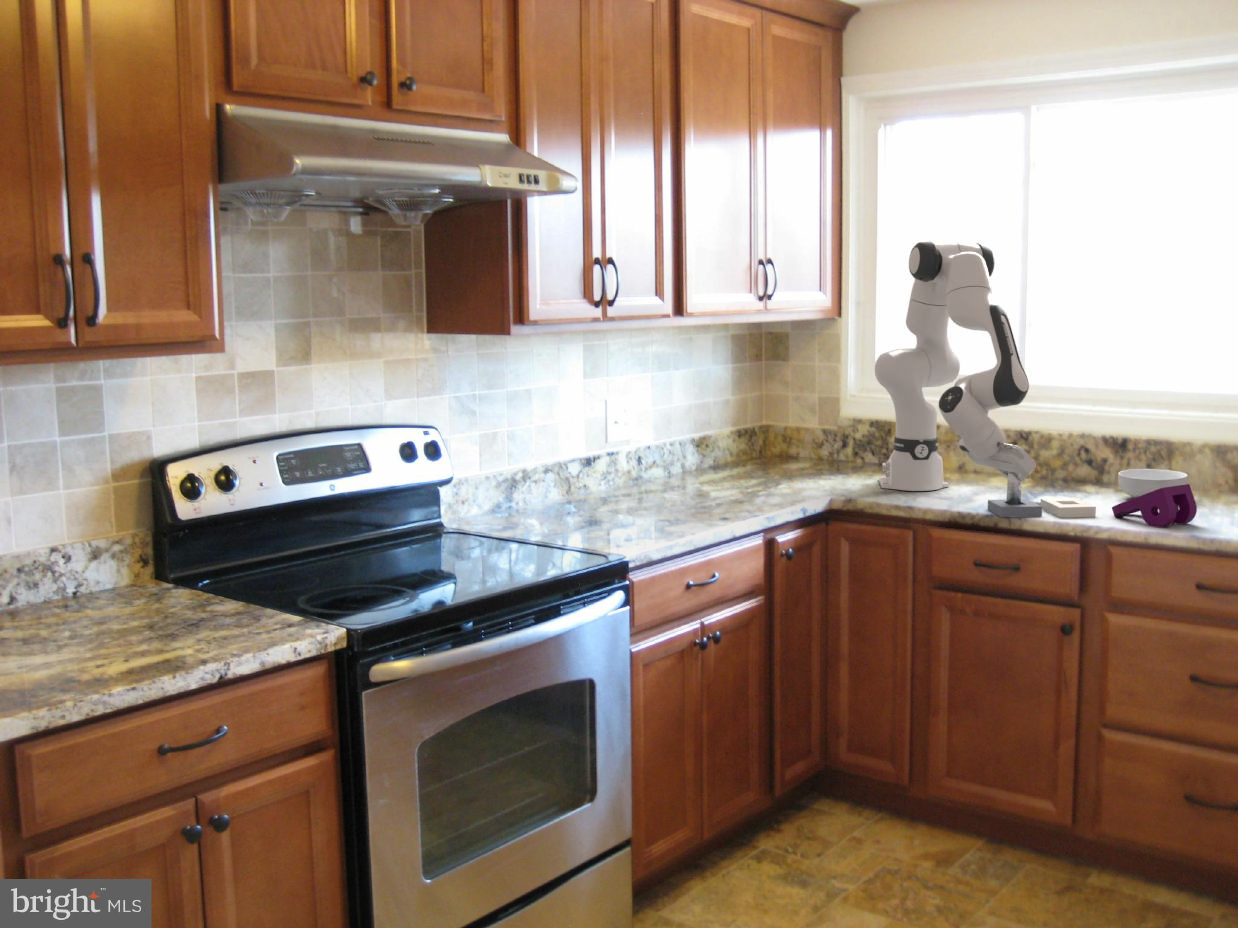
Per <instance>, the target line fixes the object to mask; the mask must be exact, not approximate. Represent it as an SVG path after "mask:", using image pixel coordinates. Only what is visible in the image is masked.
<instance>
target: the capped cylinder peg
mask: <svg viewBox="0 0 1238 928" xmlns="http://www.w3.org/2000/svg"><path fill="white" fill-rule="evenodd" d="M1015 476H1016V473H1014V472H1010V471H1008V477H1006V478H1007V483H1006V500H1007V501H1006V504H1008V505H1021V499H1022V485H1023V483H1022V482H1023V481H1020V480H1018V479H1017V478H1016V477H1015Z"/></svg>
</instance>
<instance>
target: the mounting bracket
mask: <svg viewBox="0 0 1238 928" xmlns="http://www.w3.org/2000/svg"><path fill="white" fill-rule="evenodd" d="M1194 496H1195V495H1194V494H1193V492H1192V488H1191V486H1190V484H1189V483H1187V484H1186V485H1179V486H1171V487H1164V488H1160V489H1157V490H1155V491H1152V492H1150V493H1147V494H1144V495H1142V496H1139V497H1136V498H1134V497H1133V498H1131V499H1129V500H1126V501H1123V502H1121V503H1119V504H1115V505H1113V506H1112V507H1111V510H1112V513H1113V516H1114V517H1119V515H1120V516H1126V515H1125V514H1127V515H1130V514H1134V513H1139V512H1140V513H1141V518H1142V519H1143V522H1145V524H1146V525H1148V527H1149V526H1150V527H1155V528H1166V527H1169V526H1171V525H1172V524H1175V523H1176V525H1183V524H1185V525H1186V524H1188V523H1190V522H1192V521H1193V519H1195V517H1196V516H1197V515H1196V514H1197V509H1198V508H1197V502H1196V500H1195V497H1194Z"/></svg>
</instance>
